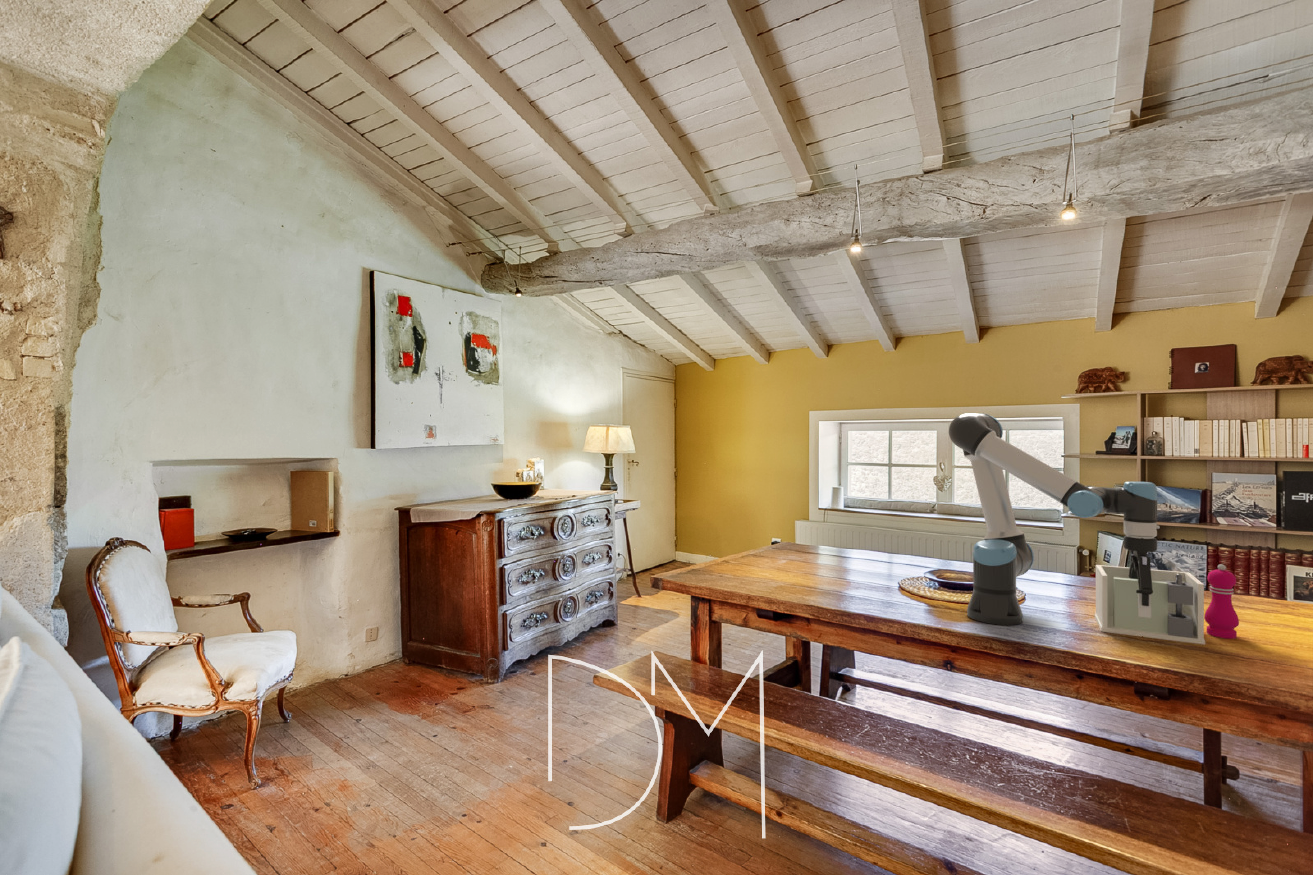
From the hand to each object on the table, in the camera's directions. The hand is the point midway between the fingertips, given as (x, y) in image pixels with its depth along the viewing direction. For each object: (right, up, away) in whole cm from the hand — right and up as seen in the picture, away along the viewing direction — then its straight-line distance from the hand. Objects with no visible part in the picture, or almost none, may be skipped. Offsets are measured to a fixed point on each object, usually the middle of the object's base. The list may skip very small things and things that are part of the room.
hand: (1140, 610), depth 177 cm
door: (+2, -5, -1) cm, 6 cm away
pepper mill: (+22, -7, -2) cm, 23 cm away
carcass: (+4, -6, +3) cm, 8 cm away
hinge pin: (+7, -5, -4) cm, 10 cm away
